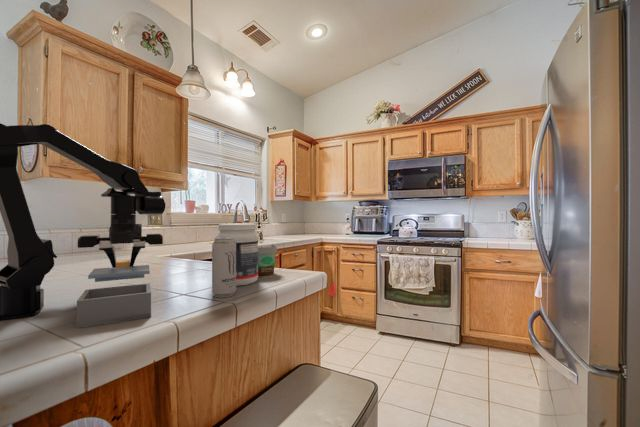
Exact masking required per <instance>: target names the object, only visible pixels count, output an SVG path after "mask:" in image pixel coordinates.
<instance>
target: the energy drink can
mask: <svg viewBox="0 0 640 427" xmlns="http://www.w3.org/2000/svg"><path fill="white" fill-rule="evenodd" d="M211 246H212V247H211V248H212V249H211V250H212V251H211V265H212V266H211V271H212V272H211V283H212V284H211V293H212V294H213V295H214V297H215V298H229V297H233V296H234V295H235V292H236V291H237V286H236V243H235V241H234V238H233V237H220V238H216V237H215V238H214V241H213V243H212V244H211Z"/></svg>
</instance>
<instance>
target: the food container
mask: <svg viewBox="0 0 640 427" xmlns="http://www.w3.org/2000/svg"><path fill="white" fill-rule="evenodd" d="M277 252H278V248H277V245H276V244H271V246H267V247H266V246H265V247H264V246H263V247H262V246H261V247H258V276H259V277H268V276H269V275H270V276H273V275H274V272H275V264H276V263H275V262H276V253H277Z"/></svg>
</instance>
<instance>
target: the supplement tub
mask: <svg viewBox="0 0 640 427" xmlns="http://www.w3.org/2000/svg"><path fill="white" fill-rule="evenodd" d="M217 230H219V233H218V234H217V235H216V237H215V238H220V237H233V238H234V241H235V243H236V287H242V286H248V285H251V284H254V283H255V282H257V280H258V279H259V277H258V248H259V236H258V234H257V233H256V232H255V231H256V230H257V224H256V223H249V222H248V223H247V222H246V223H244V222H243V223H242V222H240V223H232V222H231V223H218V229H217Z"/></svg>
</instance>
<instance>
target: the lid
mask: <svg viewBox="0 0 640 427" xmlns="http://www.w3.org/2000/svg"><path fill="white" fill-rule="evenodd" d="M130 260H131V259H124V260H123V259H122V260H121V259H119V260H116V267H112V266H111V267H102V268H101V267H98V268H93V269H92V271H91V272H90V273H89V274H88V276H87V277H88V278H87V279H88V280H91V279H92V280H93V279H94V283H98V282H99V283H100V282H109V281H110V282H111V281H120V280H121V281H122V280H131V279H132V280H133V279H143V278H145V275H149V274H150V272H151V271H150V265H149V264H141V265H133V266H130Z"/></svg>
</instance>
